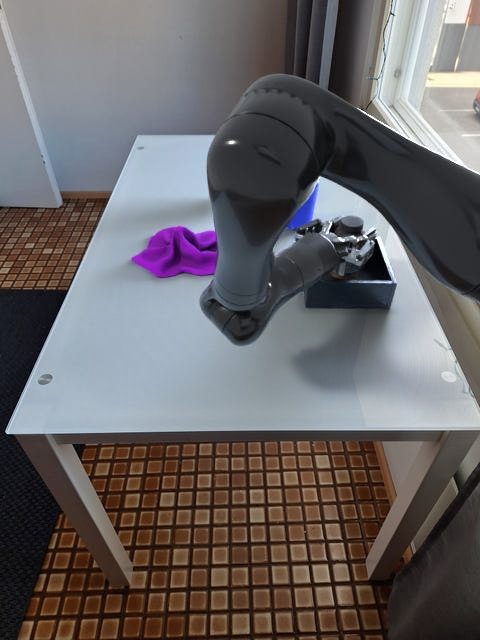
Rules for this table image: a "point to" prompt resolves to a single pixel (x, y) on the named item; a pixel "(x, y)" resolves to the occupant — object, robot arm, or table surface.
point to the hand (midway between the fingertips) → (357, 226)
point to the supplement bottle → (347, 228)
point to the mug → (305, 211)
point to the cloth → (179, 252)
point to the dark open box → (357, 286)
